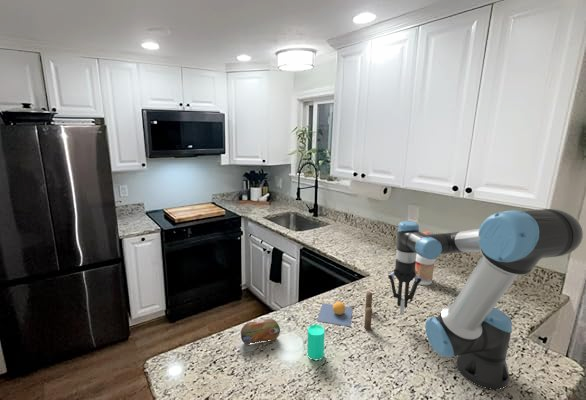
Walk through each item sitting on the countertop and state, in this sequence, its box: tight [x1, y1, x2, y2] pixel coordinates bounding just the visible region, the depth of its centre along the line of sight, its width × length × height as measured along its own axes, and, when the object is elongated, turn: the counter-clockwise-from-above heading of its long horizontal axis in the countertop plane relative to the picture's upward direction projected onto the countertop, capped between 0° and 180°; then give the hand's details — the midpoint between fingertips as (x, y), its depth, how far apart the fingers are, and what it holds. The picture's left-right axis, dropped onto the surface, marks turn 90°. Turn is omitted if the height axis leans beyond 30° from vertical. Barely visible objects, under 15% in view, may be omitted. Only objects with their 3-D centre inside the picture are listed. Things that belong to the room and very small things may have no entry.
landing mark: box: [316, 303, 353, 327], centre depth 135 cm, size 14×14×1 cm
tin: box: [240, 318, 281, 346], centre depth 117 cm, size 15×3×8 cm, turn 105°
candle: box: [306, 324, 326, 359], centre depth 109 cm, size 6×6×12 cm
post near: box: [363, 307, 373, 331], centre depth 125 cm, size 3×3×9 cm
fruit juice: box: [412, 230, 436, 286], centre depth 162 cm, size 9×9×28 cm
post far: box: [364, 291, 373, 310], centre depth 137 cm, size 3×3×9 cm
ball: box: [332, 301, 346, 315], centre depth 135 cm, size 6×6×6 cm
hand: (401, 313), depth 126 cm, fingers closed
